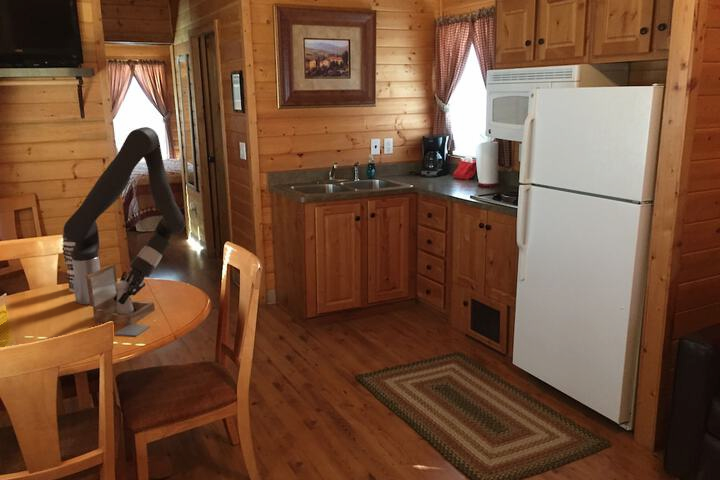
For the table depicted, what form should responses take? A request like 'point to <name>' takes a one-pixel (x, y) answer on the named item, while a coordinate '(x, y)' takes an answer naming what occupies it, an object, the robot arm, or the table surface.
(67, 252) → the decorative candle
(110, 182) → the robot arm
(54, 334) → the table surface
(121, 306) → the salt shaker
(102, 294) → the frame
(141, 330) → the plate
